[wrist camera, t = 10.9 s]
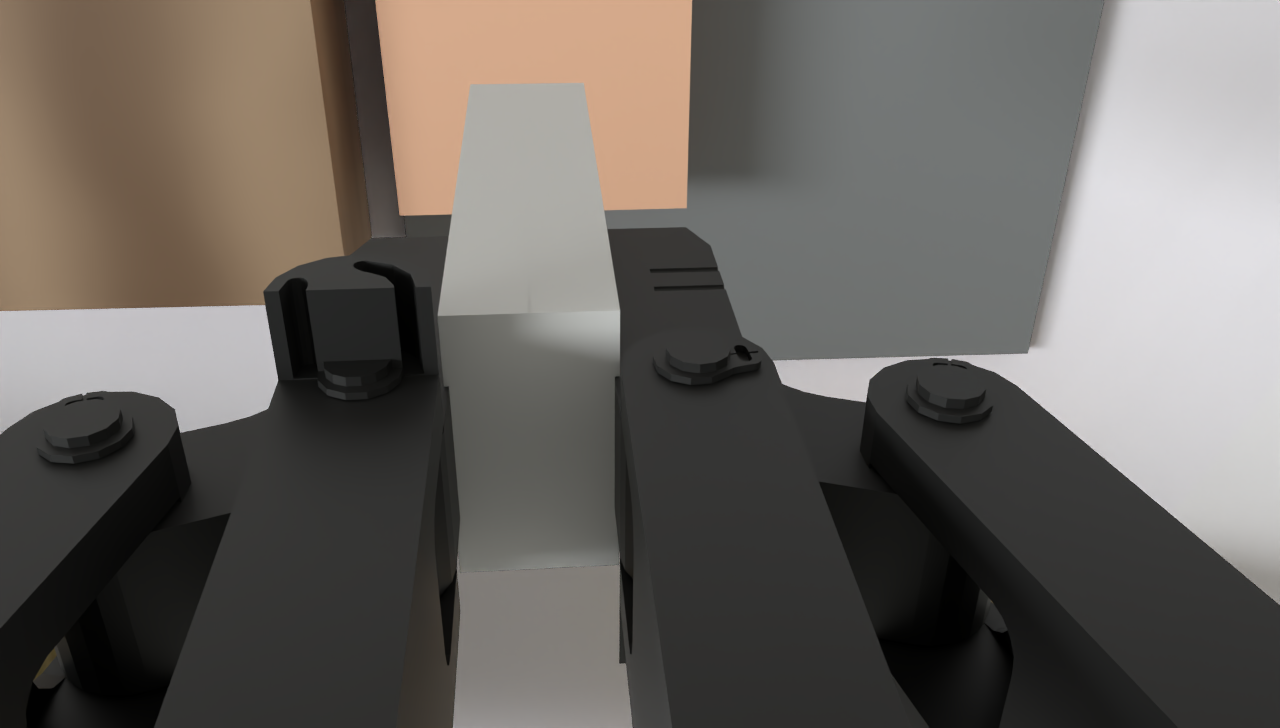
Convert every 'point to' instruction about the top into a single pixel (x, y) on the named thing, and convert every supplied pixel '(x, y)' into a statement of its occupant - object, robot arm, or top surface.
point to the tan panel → (173, 150)
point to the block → (541, 53)
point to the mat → (877, 168)
